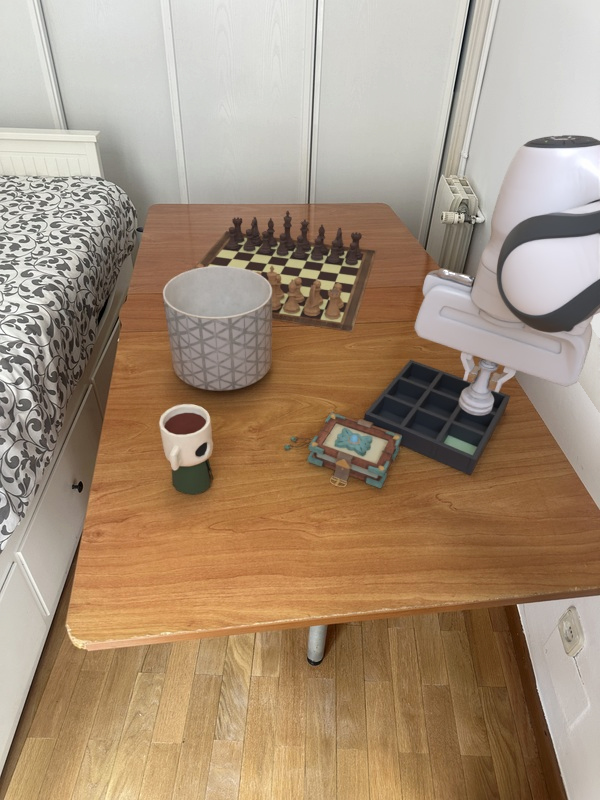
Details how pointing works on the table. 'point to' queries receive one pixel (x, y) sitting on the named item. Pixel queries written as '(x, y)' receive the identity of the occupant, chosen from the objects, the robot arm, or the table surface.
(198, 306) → the planter
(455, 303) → the robot arm
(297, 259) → the chessboard
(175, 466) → the character mug
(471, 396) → the chess piece
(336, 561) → the table surface
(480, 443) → the grid
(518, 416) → the table surface
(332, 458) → the decorative book
